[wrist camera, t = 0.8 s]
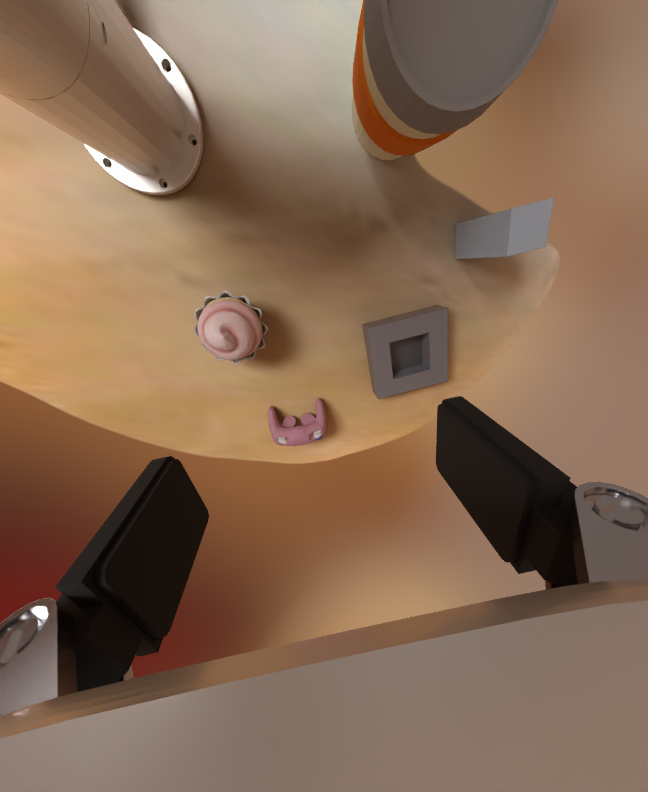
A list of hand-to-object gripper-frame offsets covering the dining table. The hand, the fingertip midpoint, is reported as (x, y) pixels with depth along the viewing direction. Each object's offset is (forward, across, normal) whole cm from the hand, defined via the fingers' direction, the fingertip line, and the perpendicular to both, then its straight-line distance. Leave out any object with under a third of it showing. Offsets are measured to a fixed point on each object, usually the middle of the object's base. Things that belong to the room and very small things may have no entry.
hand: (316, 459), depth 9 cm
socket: (+32, -16, +9) cm, 37 cm away
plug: (+32, -26, -6) cm, 42 cm away
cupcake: (+32, +9, -1) cm, 34 cm away
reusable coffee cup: (+32, -15, -20) cm, 41 cm away
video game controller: (+33, +4, +16) cm, 37 cm away
